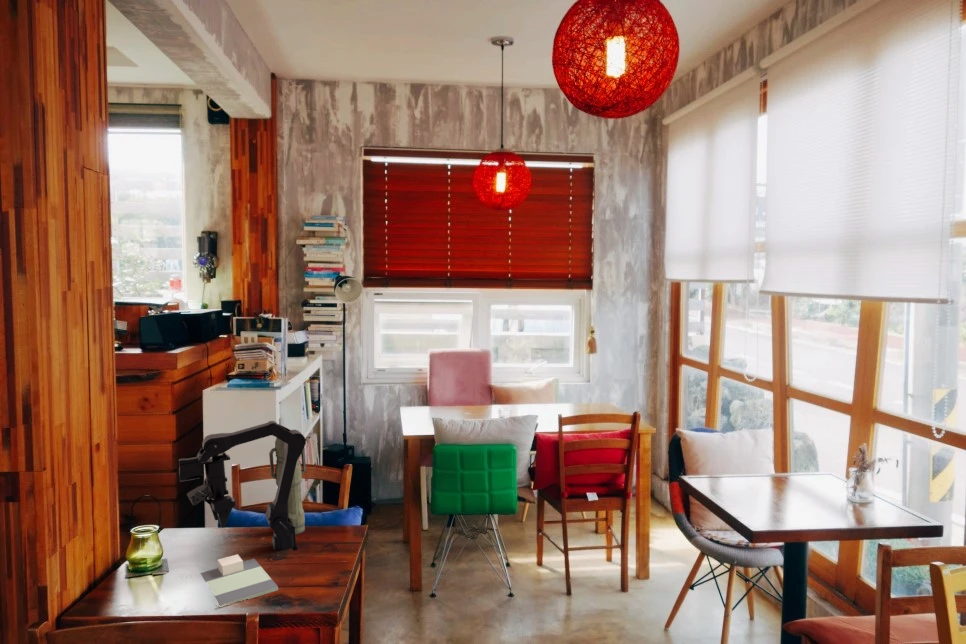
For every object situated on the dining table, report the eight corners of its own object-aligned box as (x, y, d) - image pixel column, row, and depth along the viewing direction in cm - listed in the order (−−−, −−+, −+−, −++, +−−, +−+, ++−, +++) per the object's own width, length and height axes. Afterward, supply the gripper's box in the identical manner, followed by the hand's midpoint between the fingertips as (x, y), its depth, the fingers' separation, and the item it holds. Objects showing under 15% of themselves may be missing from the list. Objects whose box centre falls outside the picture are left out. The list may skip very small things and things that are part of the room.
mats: (254, 558, 215) (254, 558, 215) (278, 586, 195) (278, 586, 195) (200, 573, 206) (200, 573, 206) (220, 604, 186) (220, 604, 186)
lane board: (254, 561, 215) (254, 558, 215) (278, 590, 195) (278, 586, 195) (201, 576, 206) (200, 573, 206) (220, 607, 186) (220, 604, 186)
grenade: (271, 531, 239) (264, 434, 236) (304, 522, 246) (298, 428, 243) (279, 539, 232) (272, 438, 229) (312, 530, 238) (306, 432, 235)
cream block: (238, 563, 211) (237, 554, 211) (243, 570, 206) (242, 560, 206) (218, 569, 208) (217, 559, 208) (223, 576, 203) (222, 566, 203)
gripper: (181, 474, 215) (186, 521, 217) (194, 488, 200) (199, 539, 202) (218, 466, 222) (222, 512, 223) (233, 480, 206) (238, 529, 208)
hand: (220, 523), depth 214 cm, fingers open, 8 cm apart
